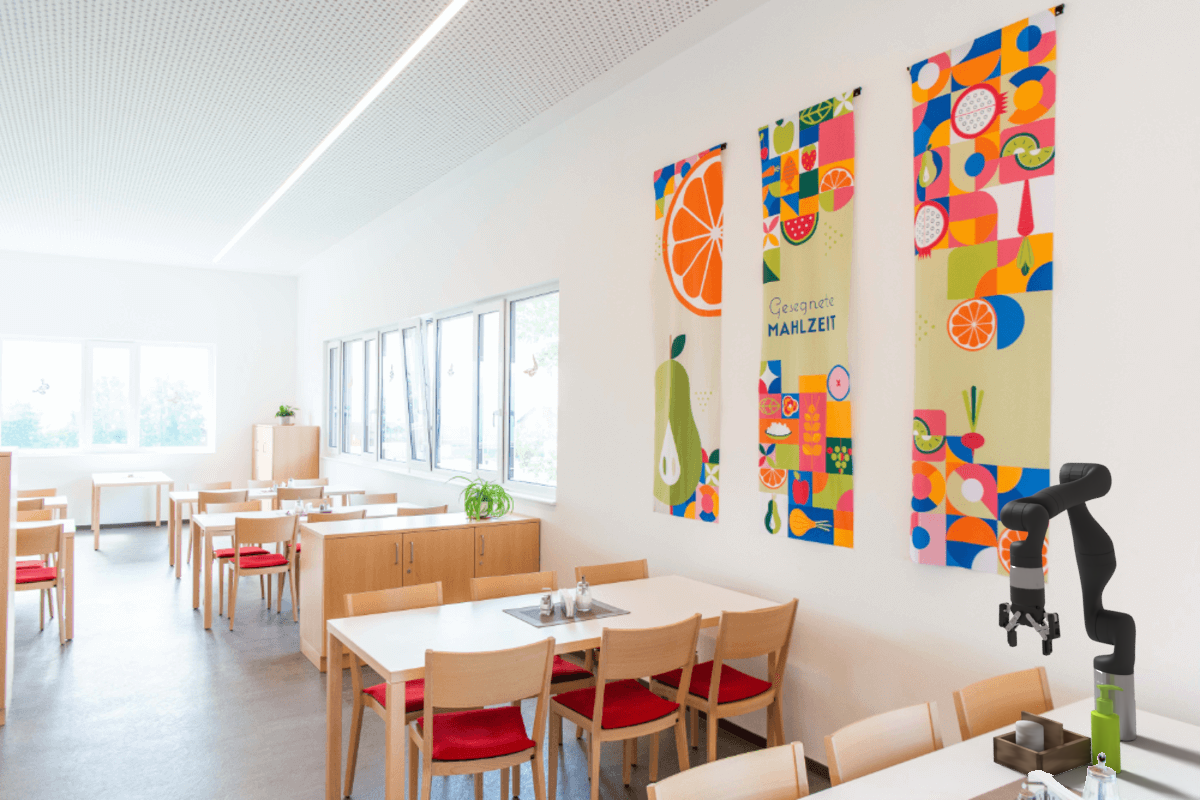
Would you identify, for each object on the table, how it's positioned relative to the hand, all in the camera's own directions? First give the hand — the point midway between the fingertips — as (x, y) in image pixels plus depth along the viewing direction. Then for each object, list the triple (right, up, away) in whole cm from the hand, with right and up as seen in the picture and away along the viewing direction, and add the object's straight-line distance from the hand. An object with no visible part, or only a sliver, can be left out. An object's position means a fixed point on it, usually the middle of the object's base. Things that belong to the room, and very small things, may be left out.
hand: (1029, 650), depth 188 cm
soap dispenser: (+19, -29, -1) cm, 34 cm away
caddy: (+5, -29, +3) cm, 29 cm away
